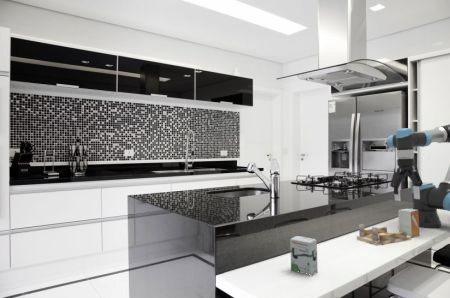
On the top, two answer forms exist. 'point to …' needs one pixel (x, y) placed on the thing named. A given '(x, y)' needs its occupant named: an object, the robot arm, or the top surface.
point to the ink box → (304, 254)
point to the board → (380, 235)
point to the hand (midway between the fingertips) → (407, 199)
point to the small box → (409, 221)
